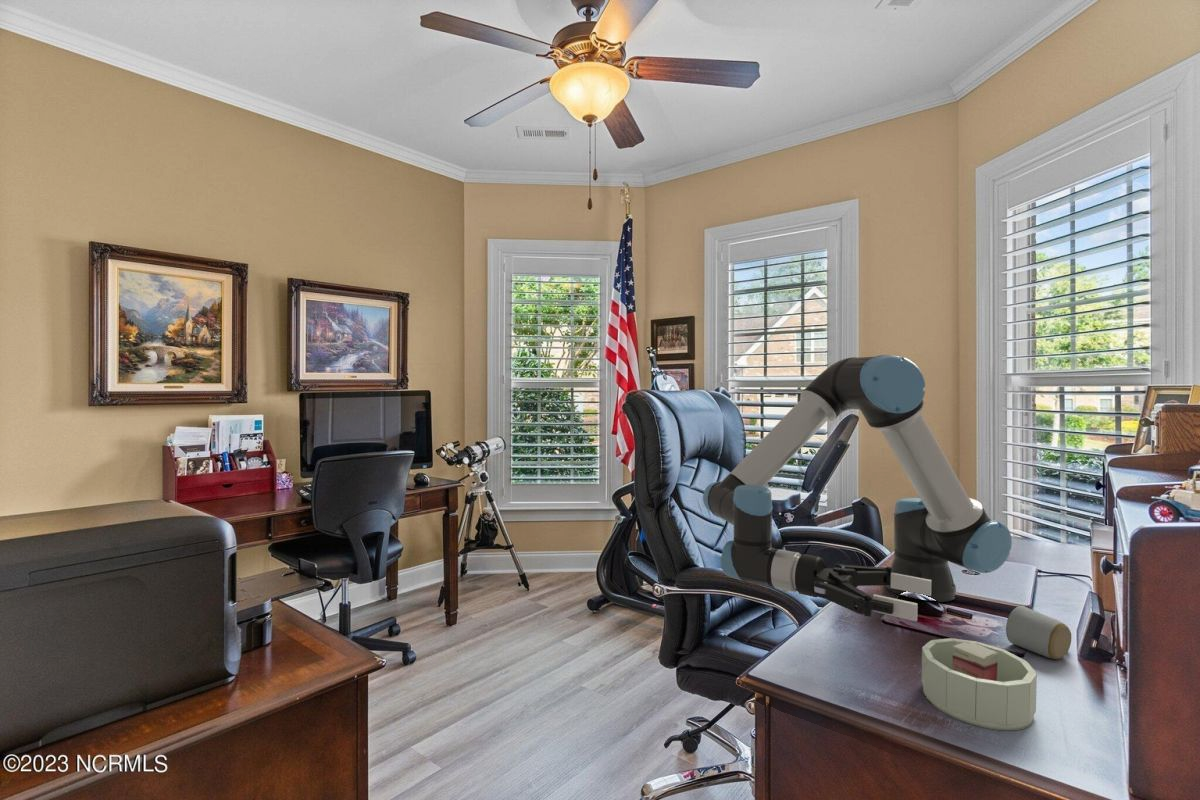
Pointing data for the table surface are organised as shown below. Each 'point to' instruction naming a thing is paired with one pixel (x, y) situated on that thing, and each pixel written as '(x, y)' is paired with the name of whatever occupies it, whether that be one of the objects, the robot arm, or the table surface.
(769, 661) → the table surface
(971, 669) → the small box
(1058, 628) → the ceramic mug
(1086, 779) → the table surface
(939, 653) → the sage bowl
